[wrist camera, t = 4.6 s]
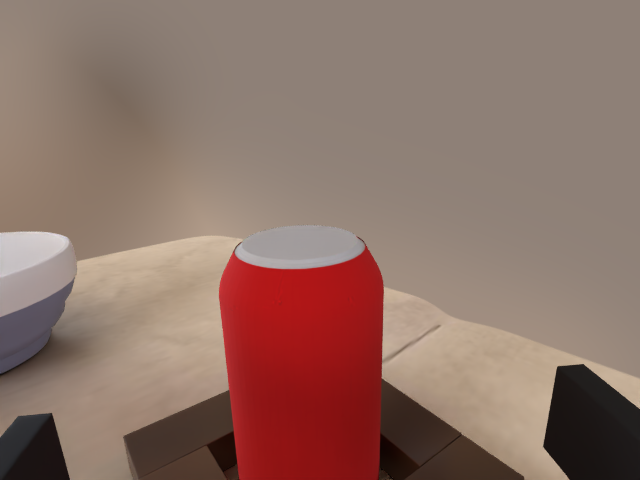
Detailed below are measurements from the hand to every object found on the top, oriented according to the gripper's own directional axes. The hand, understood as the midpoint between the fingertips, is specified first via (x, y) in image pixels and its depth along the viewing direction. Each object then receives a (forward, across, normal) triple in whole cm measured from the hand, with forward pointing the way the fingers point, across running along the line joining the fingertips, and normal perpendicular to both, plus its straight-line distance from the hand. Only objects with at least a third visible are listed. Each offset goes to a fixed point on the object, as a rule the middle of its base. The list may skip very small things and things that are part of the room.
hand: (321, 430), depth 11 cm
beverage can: (+6, 0, -9) cm, 10 cm away
